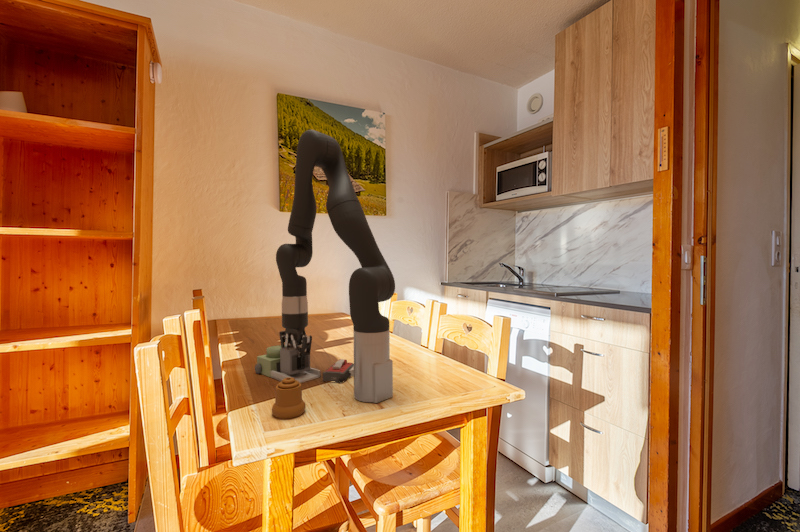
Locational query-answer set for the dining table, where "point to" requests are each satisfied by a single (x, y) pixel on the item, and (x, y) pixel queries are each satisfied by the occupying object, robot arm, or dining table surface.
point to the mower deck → (271, 367)
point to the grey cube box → (291, 361)
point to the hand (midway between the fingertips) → (295, 367)
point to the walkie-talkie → (339, 371)
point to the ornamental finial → (288, 399)
